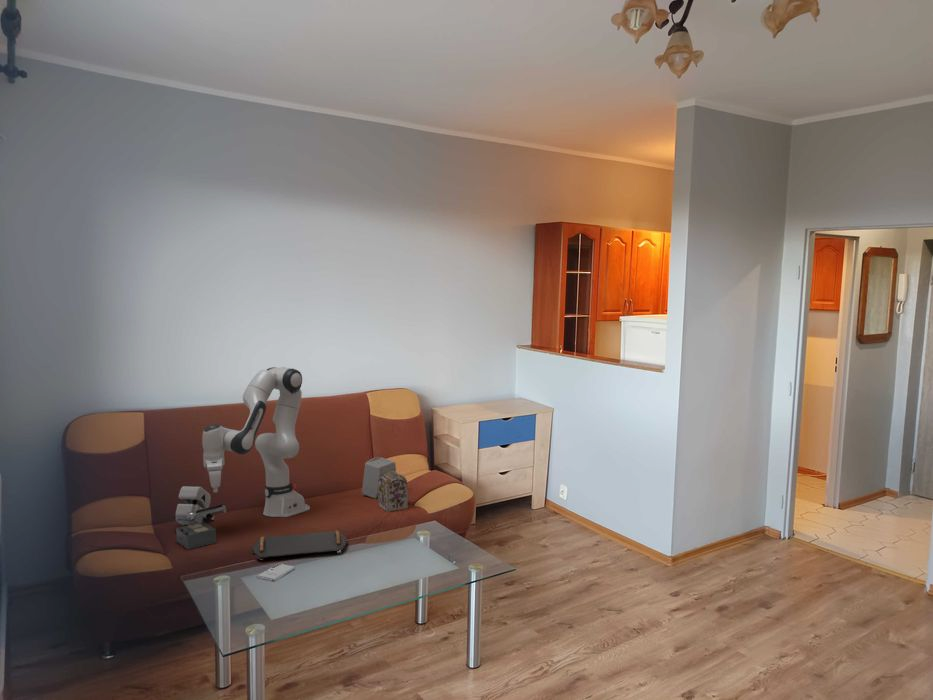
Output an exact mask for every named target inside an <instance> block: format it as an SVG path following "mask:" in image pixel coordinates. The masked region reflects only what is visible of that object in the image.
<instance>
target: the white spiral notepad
mask: <svg viewBox="0 0 933 700" xmlns="http://www.w3.org/2000/svg"><path fill="white" fill-rule="evenodd" d="M280 564H281V565H279V566H277V567H275V568H272V567H270V568H268V569H266V570H267V571H266V570H264V571H263V572H261V573H259V574H257V575H258V576H260V577H264V578H268V579H272V580H275V579H277V578H278V577H280V576H281V575H283V574H284V573H286V572H288V571H290V570H291V569H293V568H295V569H296V566H294V565H289V564H283V563H280ZM271 569H273V570H271Z"/></svg>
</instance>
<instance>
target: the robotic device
mask: <svg viewBox="0 0 933 700" xmlns="http://www.w3.org/2000/svg"><path fill="white" fill-rule="evenodd" d="M211 497H212V496H211V493H209V492H208V491H207V490H206V489H204V488H203V487H202V486H188V485H187V486H186V485H185V486H184V485H183V486H182V487H180V489H179V493H178V499H180V500H183V501H184V502H185V503H177V506H176V510H175V519H174V520H175V521H176V523H178V524H180V525H181V526H182V527H183V526H188V525H189V519H187V513H188V512H191V511H195V512H196V511H197V510H201V509H205V508H209V507H210V504H211V502H212V501H211V500H212V498H211ZM215 519H216V516H214V515H213V514H212V513H209V514H205V515H201V516H197V517H196V518H195V524H197V523H201V522H203V520H211V521H215Z"/></svg>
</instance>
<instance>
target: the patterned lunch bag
mask: <svg viewBox="0 0 933 700" xmlns="http://www.w3.org/2000/svg"><path fill="white" fill-rule="evenodd" d="M408 486H409V485H408V480H407V478H406V476H405V475H403V474H399V473H398V472H397V471H396V472H389V473H388V474H387V475H384V476H382V477H381V478H380V479H379V480H378V498H377V499H378V502H377V503H378V506H379V507H380V508H381V509H383V510H384V511H385V512H387V513H388V512H395V511H401V510H402V511H403V510H407V509H408V508H409V507H408V506H409V505H408V503H409V495H408V494H409V487H408Z"/></svg>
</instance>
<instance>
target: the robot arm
mask: <svg viewBox="0 0 933 700" xmlns="http://www.w3.org/2000/svg"><path fill="white" fill-rule="evenodd" d="M302 384H303V375H302V372H301V371H299V370H298V369H295V368H290V367H285V366H283V367H282V366H281V367H276V366H274V367H273V366H272V367H269V368H266V369H261V370H259V371H258V372H257V373H256V374H255V375H254V376H253V378H251V380H250V382H249V384H248V385H247V387H246V388H245V390H244V393H243V395H242V400H243V403H244V405H245V406H246V407H247V408H248V409H249V415H248V418H247V420H246V422H245V425H244V426H243V428H242V429H241V430H237V429H231V428H227V427H224V426H222V425H220V424H211V425H208V426H206V427H205V428H203V432H202V437H201V438H202V439H201V440H202V449H203V454H202V457H203V458H202V461H203V467H204V468H205V469H206V471H207V473H208V476H209V483H210V486H211V488H213V491H212V492H213V493H218V492H219V489H218V488H219V487H221V481H222V470H223V468H224V466H225V462H226V461H225V452H227V451H228V452H232V453H235V454H238V455H246V454H248V453H249V452H251V450H252V448H254V447H255V450H256V451H258V453H259V455H260V457H261V459H262V462H263V465H264V469H265V487H264V496H265V503H264V509H263V513H262V515H264V516H265V517H271V518H279V517H280V518H288V517H291V516H295V515H298V514H300V513H304V512H307V511H310V510H311V507H310V505H308V504H307V503H306V501H305V498H304V495H302V494H300V493H299V492H298V491H296V490H294V489H297V484H296V483H291V482H290V469H289V466H288V464H287V463H286V462H285V459H293V458H295V457H296V456H297V455H298V453H299V451H300V443H299V441H298V440H297V437H296V424H297V418H298V415H299V411H300V406H301V402H302V394H303V393H302V390H301V388H302ZM273 390H278V391H279V397H278V399H277V402H276V406H275V410H274V413H273V417H272V422H273V423H274V425H275V433H274V432H273V433H272V432H264V433H261V434H259V435H258V436H257V437H256V435H257V433H258V430H259V428H260V426H261V425H262V424H261V423H262V421H263V419H264V416H265V414H266V410H267V406H266V405H267V402H268V400H269V398H270V397H271V394H272V392H273Z"/></svg>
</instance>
